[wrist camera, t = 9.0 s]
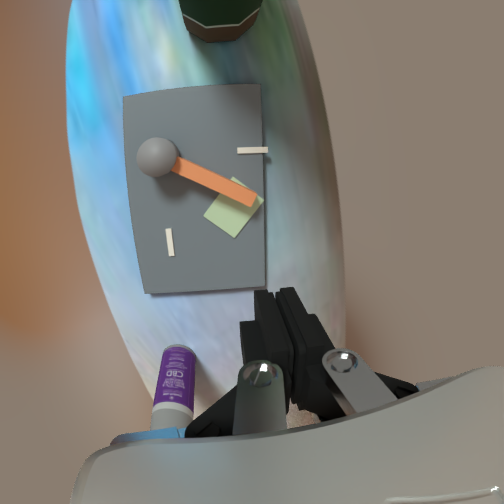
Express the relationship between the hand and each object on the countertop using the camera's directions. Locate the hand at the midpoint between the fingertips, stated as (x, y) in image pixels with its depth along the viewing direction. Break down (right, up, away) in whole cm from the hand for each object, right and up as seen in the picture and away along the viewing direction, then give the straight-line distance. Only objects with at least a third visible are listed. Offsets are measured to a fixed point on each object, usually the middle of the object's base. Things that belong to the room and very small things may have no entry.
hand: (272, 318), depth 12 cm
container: (-11, -12, +24) cm, 29 cm away
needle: (-6, +11, +14) cm, 19 cm away
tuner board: (-7, +9, +16) cm, 20 cm away
